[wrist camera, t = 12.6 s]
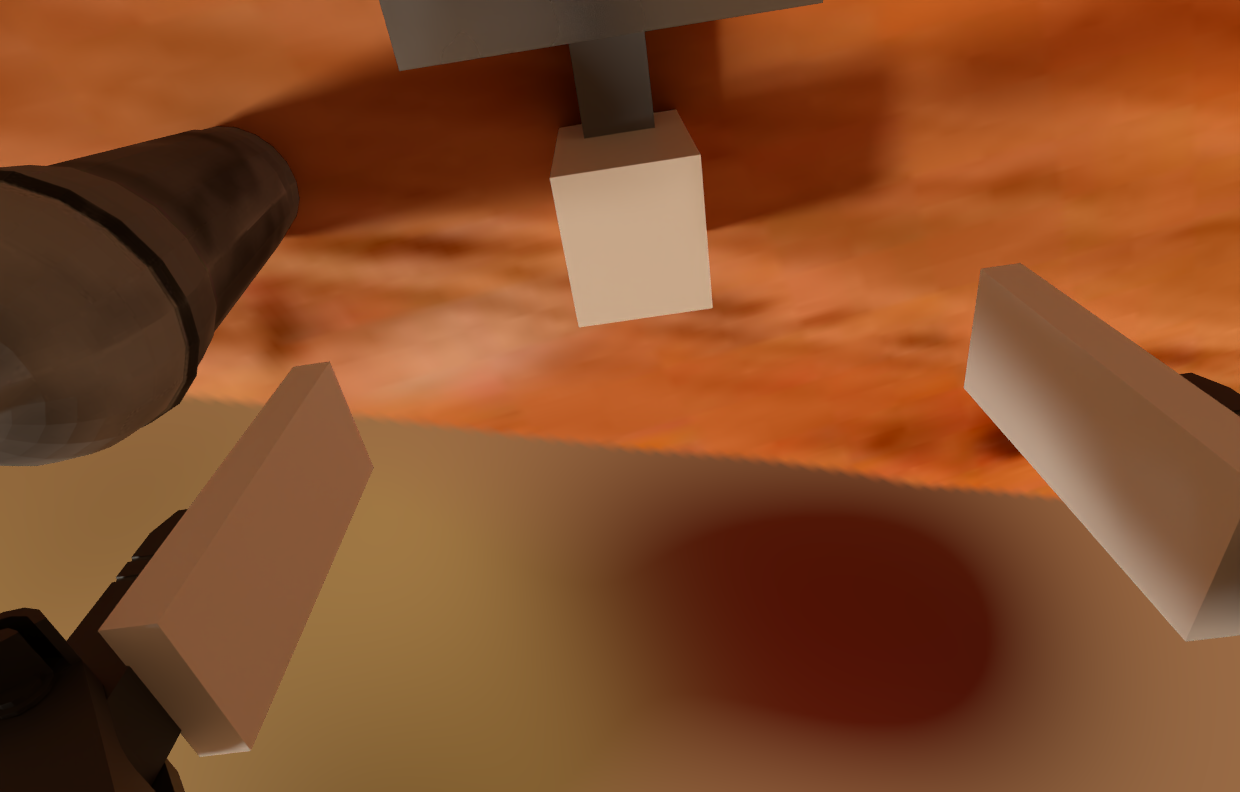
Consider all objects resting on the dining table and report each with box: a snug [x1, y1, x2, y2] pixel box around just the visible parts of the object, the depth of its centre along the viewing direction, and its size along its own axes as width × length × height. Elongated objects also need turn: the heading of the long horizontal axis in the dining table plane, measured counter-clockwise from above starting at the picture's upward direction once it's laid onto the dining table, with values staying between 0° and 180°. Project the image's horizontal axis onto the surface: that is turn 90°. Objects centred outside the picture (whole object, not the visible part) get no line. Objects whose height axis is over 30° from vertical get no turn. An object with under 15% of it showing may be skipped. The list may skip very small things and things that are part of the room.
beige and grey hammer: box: [550, 32, 713, 327], centre depth 22 cm, size 16×4×7 cm, turn 8°
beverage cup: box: [0, 126, 299, 466], centre depth 19 cm, size 7×7×20 cm
